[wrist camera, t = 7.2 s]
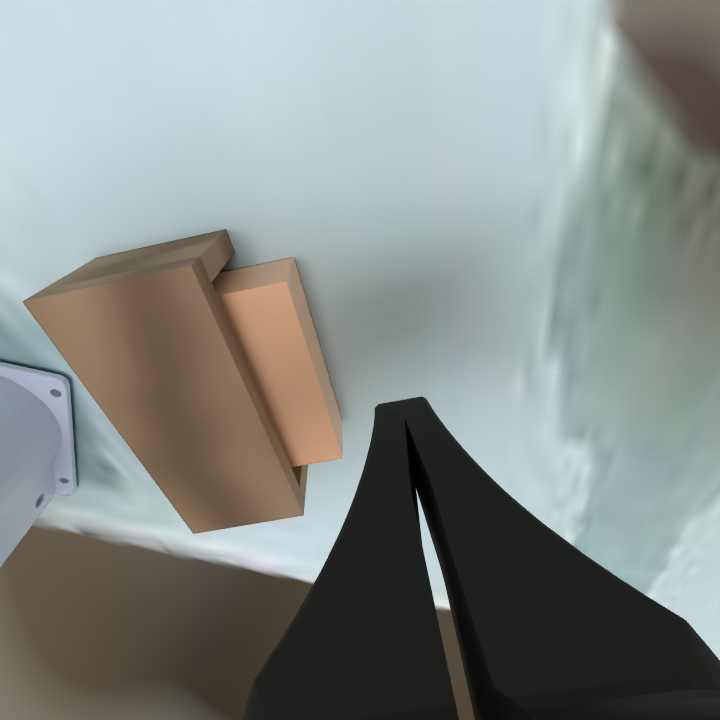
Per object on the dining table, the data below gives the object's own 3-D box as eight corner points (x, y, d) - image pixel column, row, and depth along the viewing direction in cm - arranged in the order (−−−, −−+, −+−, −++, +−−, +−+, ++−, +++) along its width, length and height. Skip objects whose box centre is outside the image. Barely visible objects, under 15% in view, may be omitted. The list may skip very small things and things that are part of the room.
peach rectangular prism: (293, 257, 17) (286, 281, 15) (341, 420, 23) (342, 458, 20) (147, 288, 18) (116, 316, 15) (228, 440, 23) (215, 480, 21)
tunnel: (226, 229, 17) (190, 265, 13) (309, 448, 24) (303, 515, 20) (95, 257, 17) (22, 301, 13) (216, 465, 24) (193, 533, 20)
